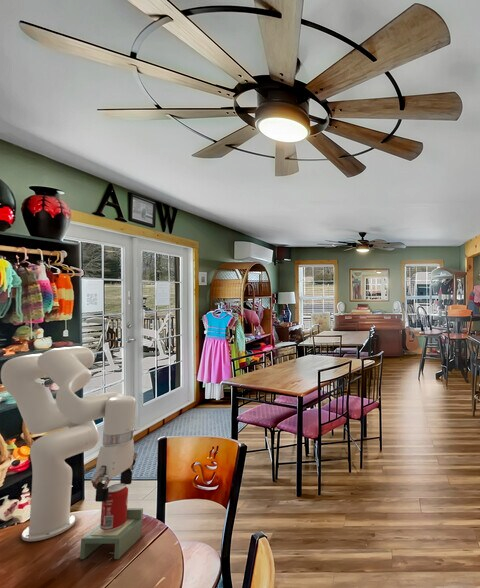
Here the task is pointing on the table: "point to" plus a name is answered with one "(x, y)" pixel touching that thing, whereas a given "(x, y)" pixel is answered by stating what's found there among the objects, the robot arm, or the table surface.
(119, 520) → the beverage can
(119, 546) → the green stand
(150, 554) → the table surface
